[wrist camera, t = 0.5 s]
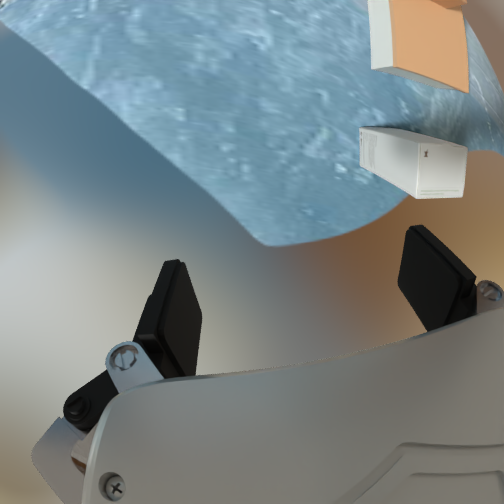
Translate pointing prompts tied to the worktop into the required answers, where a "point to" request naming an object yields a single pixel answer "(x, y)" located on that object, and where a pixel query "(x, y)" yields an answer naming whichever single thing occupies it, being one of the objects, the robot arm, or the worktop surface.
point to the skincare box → (414, 161)
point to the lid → (430, 40)
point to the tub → (388, 44)
